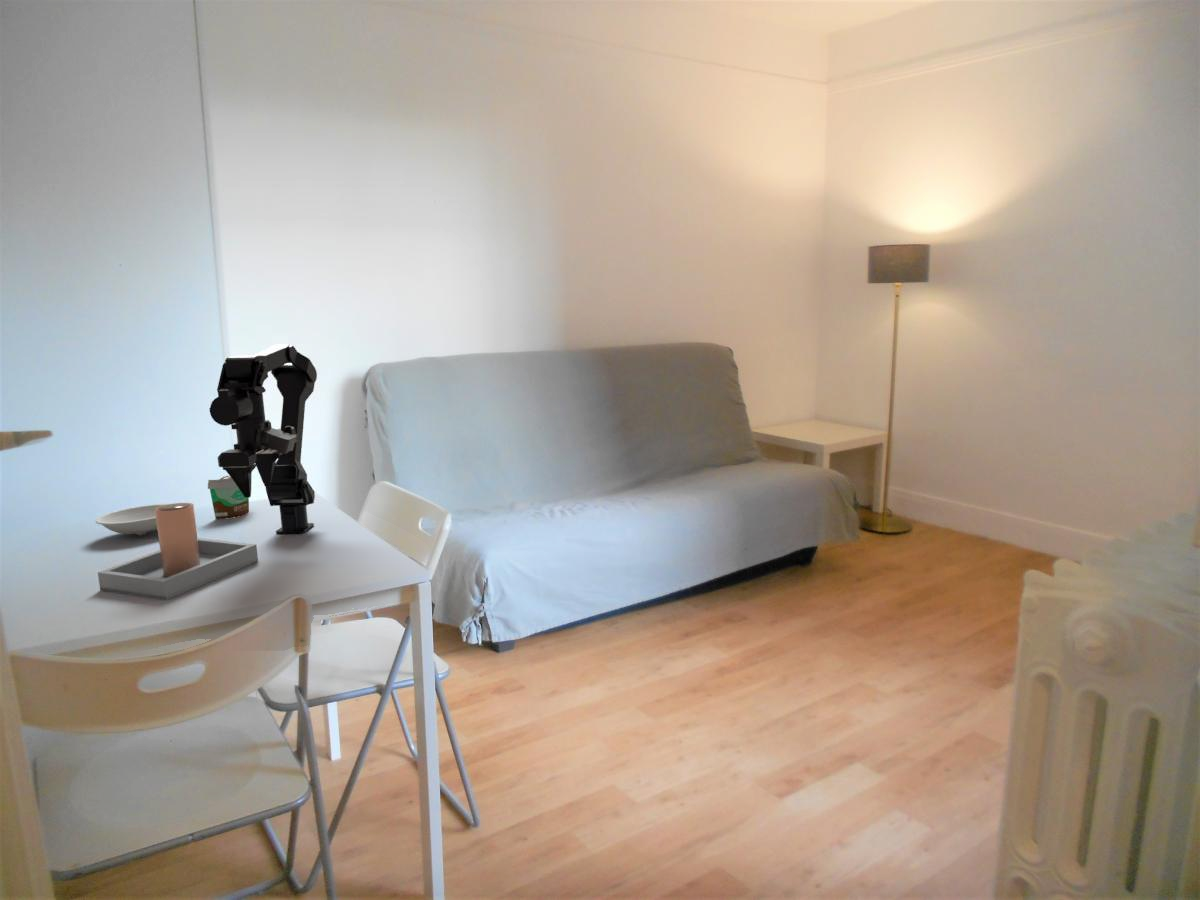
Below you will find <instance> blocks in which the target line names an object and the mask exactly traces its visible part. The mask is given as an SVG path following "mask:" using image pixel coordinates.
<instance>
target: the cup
mask: <svg viewBox="0 0 1200 900" xmlns="http://www.w3.org/2000/svg"><path fill="white" fill-rule="evenodd" d="M166 504H167V505H163V506H160V507H157V508H156V509H155V513H156V521H157V535H158V542H159V543H158V544H159V550H160V552H161V560H162V567H163V575H164V576H165V577H170V576H172V575H175V574H177V573H180V572H182V571H185V570H187V569H190V568H192V567H195V566H197V565H200V564H201V563H200V555H199V547H198V538H199V537H198V531H197V523H196V516H195V515H196V514H195V507H194V505H195V504H194V503H193V502H175V503H166Z"/></svg>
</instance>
